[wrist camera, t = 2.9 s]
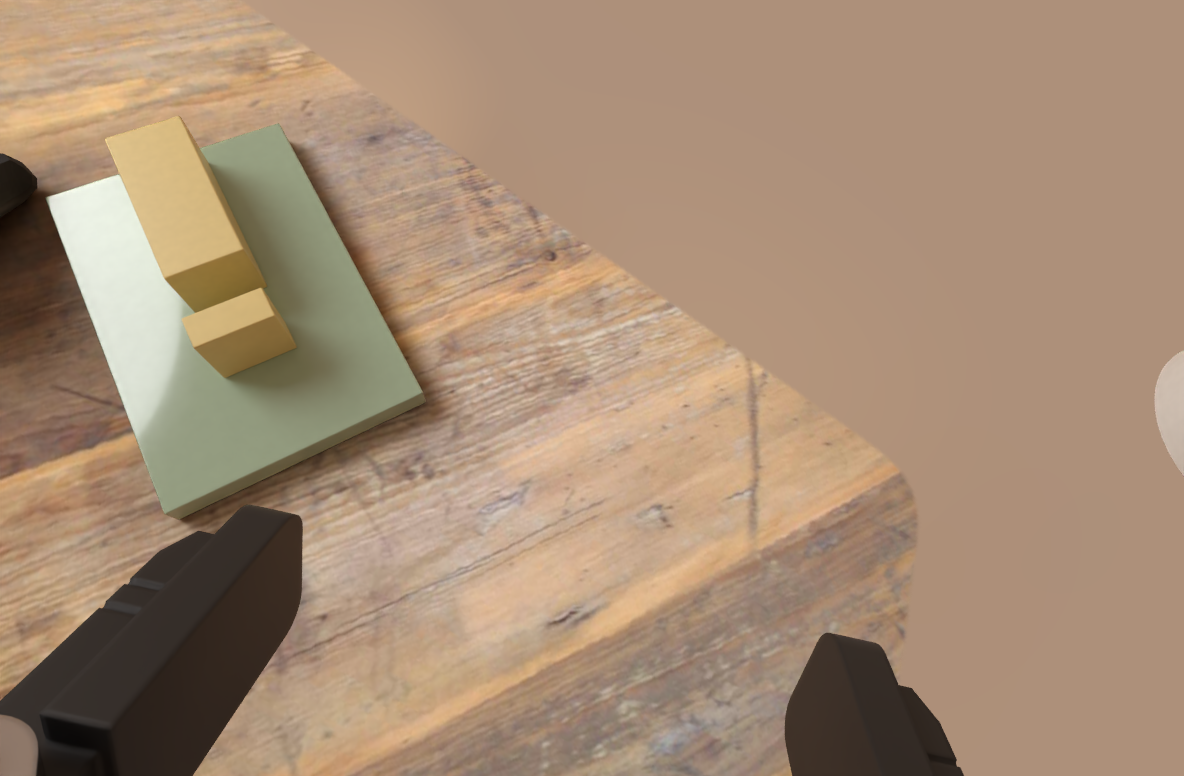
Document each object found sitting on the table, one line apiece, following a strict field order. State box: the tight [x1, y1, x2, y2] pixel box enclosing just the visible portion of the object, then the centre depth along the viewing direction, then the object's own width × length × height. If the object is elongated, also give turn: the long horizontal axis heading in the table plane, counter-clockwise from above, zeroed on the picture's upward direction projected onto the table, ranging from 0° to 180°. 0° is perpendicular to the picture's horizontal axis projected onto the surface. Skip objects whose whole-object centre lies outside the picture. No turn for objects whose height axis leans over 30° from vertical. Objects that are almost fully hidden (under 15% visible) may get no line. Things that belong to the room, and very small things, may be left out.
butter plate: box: [45, 123, 426, 520], centre depth 30 cm, size 11×17×1 cm, turn 31°
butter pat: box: [182, 288, 297, 378], centre depth 27 cm, size 3×2×3 cm, turn 121°
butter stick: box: [105, 116, 267, 313], centre depth 29 cm, size 3×8×3 cm, turn 31°
